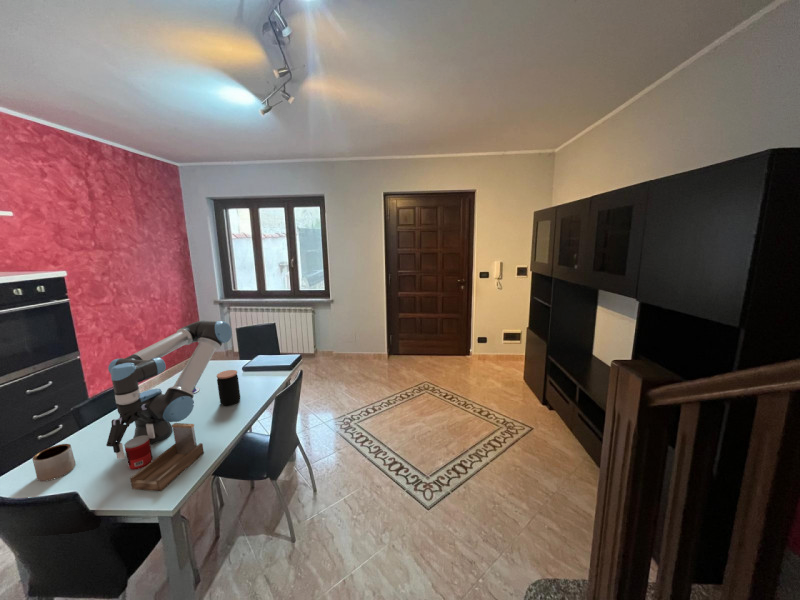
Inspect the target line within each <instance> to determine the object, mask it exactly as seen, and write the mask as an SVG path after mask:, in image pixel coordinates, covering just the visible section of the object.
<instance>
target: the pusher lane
mask: <svg viewBox="0 0 800 600" xmlns="http://www.w3.org/2000/svg"><path fill="white" fill-rule="evenodd" d="M203 454H205V451H204V445H203V443H201V442H200V443H198V444H197V446H196V447H195V448H194V449H193V450H192V451H190V452H189V453H188V454H178V453H177V450H176V444H175V443H174V444H173V445H171V446H170V447H169V448H166V450H165V451H164V452H162V453H161V454H159V456H157V457H156V458H154V459H152V461H151V462H150V463H149V464H148V465H147V466H145V467H143V468H140V469H139V471H137V472H136V473H135V474H133V475H132V476H131V477H130V479H129V480H130V485H131V489H132V490H139V491H151V492H160V493H161V492H163V491H164V490H165V489H166V488H167V487H168V486H169V485H170V484H172V483H173V481H175V480H176V479H177V478H178V477H179V476H180V475H181V474H183V473H184V471H186V470H187V469H188V468H189V467H191V465H193V464H194V463H195V461H197V460H198V459H199V458H200V457H202V456H203Z"/></svg>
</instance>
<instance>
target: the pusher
mask: <svg viewBox="0 0 800 600" xmlns="http://www.w3.org/2000/svg"><path fill="white" fill-rule="evenodd" d="M171 425H172V429H173V432H172V433H173V438H174V444H176V450H177V453H178V454H188V453H189V452H190V451H192V450H193V449H194V448H195V447H196V446H197V445H198V444H197V438H196V437H197V436H196V432H195V431H196V430H195V424H194V423H180V422H173V424H171Z"/></svg>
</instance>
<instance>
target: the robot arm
mask: <svg viewBox="0 0 800 600" xmlns="http://www.w3.org/2000/svg"><path fill="white" fill-rule="evenodd" d="M232 335H233V331H232V328H231V325H230V324H229V323H228V322H227V321H221V320H216V321H215V320H200V321H195V322H192V323H190V324H187V325H185V326H183V327H181V328H179V329H177V330H176V332H175V333H173V334H171V335H169V336H167V337H165V338H163V339H161V340H159V341H157V342H155V343H153V344H151V345H149V346H147V347H145V348H143V349H141V350H138V351H136V352H134V353H133V354H131V355H129V356H127V357H125V358H123V357H121V358H115V359H113V360H111V361H110V362H109V364H108V367H107V369H108V372H109V374H110V379H111V383H112V387H113V392H114V398H115V404H116V408H117V412H118V415H119V417H118V418H116V419H112V420H111V427H110V431H109V434H108V439H107V441H106V447H112V448H113V453H115V455H116V458H117V459H119V460H123V459H125V458H126V456H125V455H126V454H125V452H124V451H125V449H124V446H123V443H122V440H123V437H124V436H125V433H126V431H127V429H128V428H129V427H130V425H131V424H133V423H134V425H135V428H134V435H133V438H135V437H138V436H143V435H146V436H148V437H149V441H150V446H151V445H154V444H158V443H159V442H162V441H163V440H166V439H167V438H168V437H170V436H171V435H172V434H173V433H174V432H173V427H172V425H173V424H171V423H180V422H181V421H183V420H185V419H187V418H189V416H190V414H191V413H192V412H193V409H194V407H195V405H194V404H195V401H194V395H195V394H194V393H192V392H193V390H194V388H195V387H197V385H198V383H199V380H200V378H201V377H202V375H203V374H204V371H205V369H206V368H207V366H208V365H209V362H210V361H211V360H212V357H213V356H214V353H215V352H216V350H219V349H221V347H222V345H223V344H226V343H228V342H229V341H230V340H231V338H232ZM196 342H197V343H198V345H197V346H196V348H195V350H194V351H193V352H192V354H191V356H190V358H189V360H188V361H187V363H186V364H185V366H184V368H183V370H181V373H180V374H179V377H178V378H177V380H176V381H175V383H174V385H173V386H170V387H168V388H167V390H166V391H165V393H164V394H163V391H162V389H161V388H153V389H149V390H145V391H141V392H140V388H139V383H141V382H144V381H146V380H148V379H151V378H153V377H157V376H158V375H161V374H162V373H164V372H165V370H166V368H167V366H166V362H165V361H164V359H163V357H165V356H166V355H169V354H170V353H172V352H174V351H176V350H178V349H180V348H181V347H183V346H189V345H191V344H193V343H196ZM133 438H132V439H133Z"/></svg>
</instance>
